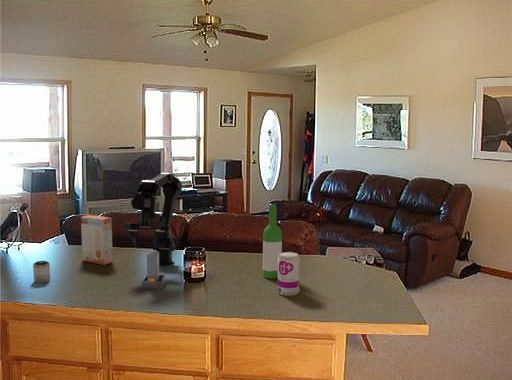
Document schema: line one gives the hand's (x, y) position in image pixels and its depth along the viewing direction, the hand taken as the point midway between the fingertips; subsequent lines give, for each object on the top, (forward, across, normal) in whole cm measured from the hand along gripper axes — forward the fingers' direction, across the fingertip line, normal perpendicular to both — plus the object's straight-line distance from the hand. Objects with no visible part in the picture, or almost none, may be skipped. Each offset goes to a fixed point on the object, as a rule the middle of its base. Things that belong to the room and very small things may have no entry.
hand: (145, 247), depth 238 cm
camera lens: (+15, -34, +21) cm, 43 cm away
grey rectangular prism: (+14, -3, -13) cm, 19 cm away
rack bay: (+14, -3, -13) cm, 20 cm away
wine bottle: (+10, +40, -35) cm, 54 cm away
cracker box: (+9, -4, +34) cm, 35 cm away
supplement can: (+13, +30, -54) cm, 64 cm away
